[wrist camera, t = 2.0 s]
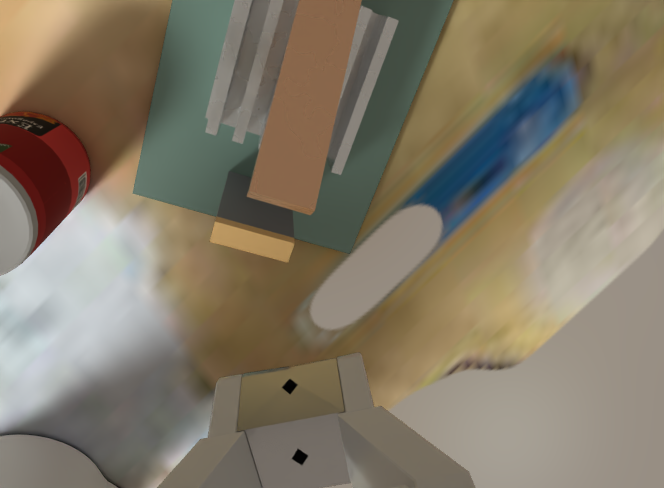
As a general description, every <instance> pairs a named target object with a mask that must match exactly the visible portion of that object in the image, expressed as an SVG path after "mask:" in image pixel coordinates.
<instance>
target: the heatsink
mask: <svg viewBox="0 0 664 488" xmlns="http://www.w3.org/2000/svg"><path fill="white" fill-rule="evenodd" d="M298 1H299V0H235V1H234V5H233V9H232V13H231V17H230V21H229V25H228V29H227V33H226V36H225V40H224V44H223V48H222V52H221V56H220V60H219V64H218V68H217V72H216V76H215V80H214V84H213V88H212V92H211V96H210V100H209V104H208V108H207V112H206V116H205V118H207V119H208V123H207V127H206V131H205V132H206V133H209V134H212V135H215V136H216V135H217V133H218V130H219V128H220V126H221V123H223V124H226V125H229V126H232V127H235V131H234V135H233V138H232V141H234V142H237V143H241V144H243V141H244V138H245V134H246V131H247V132H251V133H254V134H257V135H260V136H259V144H258V149H259V148H260V144H261V140H262V137H263V133H264V129H265V125H266V122H267V118H268V114H269V110H270V106H271V103H272V99H273V95H274V91H275V88H276V84H277V80H278V76H279V73H280V69H281V65H282V61H283V57H284V54H285V50H286V46H287V42H288V39H289V35H290V31H291V27H292V24H293V20H294V16H295V12H296V9H297V5H298ZM398 22H399V21H398V20H396V19H393V18H391V17H388V16H384V15H379V14H376V13H373V12H372V10H371V9H368V8H366V7H363V6H360V10H359V15H358V19H357V24H356V28H355V33H354V37H353V42H352V46H351V51H350V55H349V60H348V64H347V69H346V73H345V78H344V82H343V87H342V91H341V96H340V100H339V105H338V109H337V113H336V118H335V122H334V127H333V131H332V136H331V140H330V145H329V149H328V154H327V160H328V163H329V167H330V170H331V172H333V173H336V174H339V175H341V174H342V171H343V168H344V166H345V163H346V160H347V158H348V155H349V152H350V150H351V147H352V144H353V142H354V139H355V136H356V134H357V131H358V128H359V126H360V123H361V120H362V118H363V115H364V112H365V110H366V107H367V104H368V102H369V99H370V96H371V94H372V91H373V88H374V86H375V83H376V80H377V78H378V75H379V72H380V70H381V67H382V64H383V62H384V59H385V56H386V54H387V51H388V48H389V46H390V43H391V40H392V38H393V35H394V32H395V30H396V27H397V24H398Z"/></svg>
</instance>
